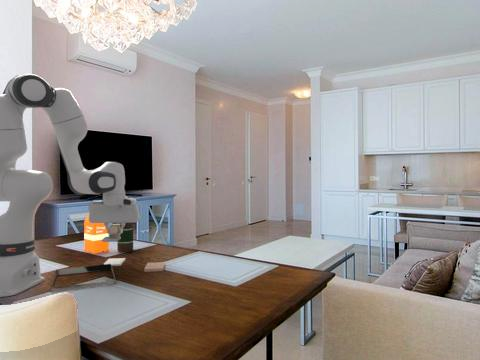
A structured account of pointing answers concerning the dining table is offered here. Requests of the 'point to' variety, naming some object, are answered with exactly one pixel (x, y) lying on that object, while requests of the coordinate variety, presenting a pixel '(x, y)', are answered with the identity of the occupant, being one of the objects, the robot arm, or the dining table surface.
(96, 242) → the orange juice
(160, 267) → the tile
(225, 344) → the dining table surface
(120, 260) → the mat
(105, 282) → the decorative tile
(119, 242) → the beer bottle
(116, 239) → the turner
